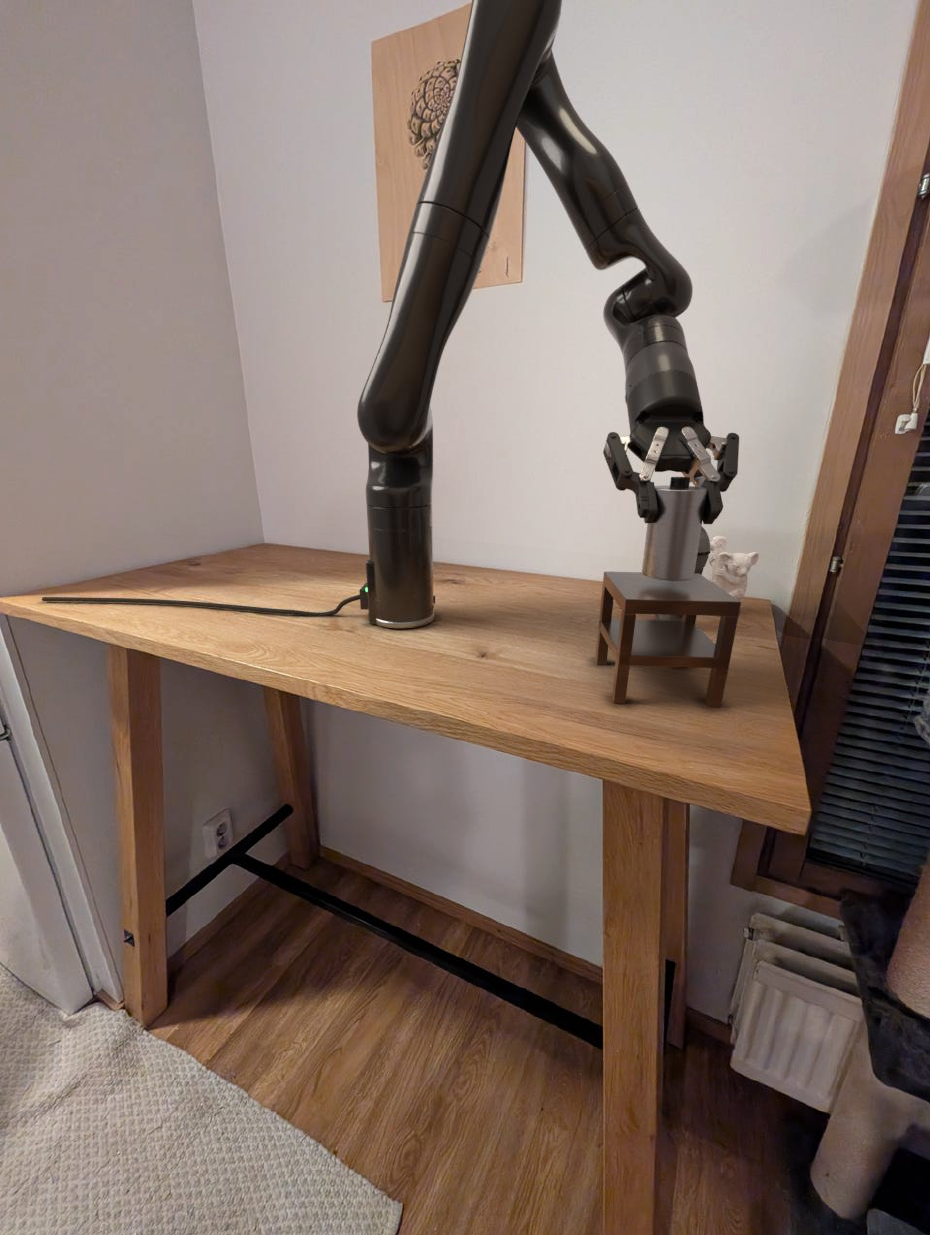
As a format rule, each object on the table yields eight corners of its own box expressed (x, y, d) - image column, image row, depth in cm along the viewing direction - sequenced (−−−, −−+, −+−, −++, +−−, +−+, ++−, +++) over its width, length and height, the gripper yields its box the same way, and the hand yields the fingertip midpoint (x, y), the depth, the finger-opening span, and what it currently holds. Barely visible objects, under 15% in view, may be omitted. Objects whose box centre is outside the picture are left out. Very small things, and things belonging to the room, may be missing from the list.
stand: (613, 703, 54) (625, 599, 50) (595, 660, 64) (603, 571, 61) (721, 707, 54) (741, 601, 50) (684, 663, 64) (699, 573, 60)
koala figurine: (689, 613, 82) (701, 538, 78) (690, 601, 88) (701, 531, 84) (749, 620, 79) (765, 543, 75) (745, 608, 85) (760, 535, 81)
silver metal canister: (649, 580, 53) (661, 479, 49) (636, 568, 57) (647, 475, 54) (701, 581, 52) (717, 479, 49) (683, 568, 57) (697, 475, 54)
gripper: (603, 367, 55) (616, 494, 48) (741, 367, 55) (775, 495, 47) (591, 421, 62) (600, 539, 55) (713, 422, 61) (739, 541, 54)
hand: (681, 518), depth 51 cm, fingers closed on silver metal canister, 5 cm apart
